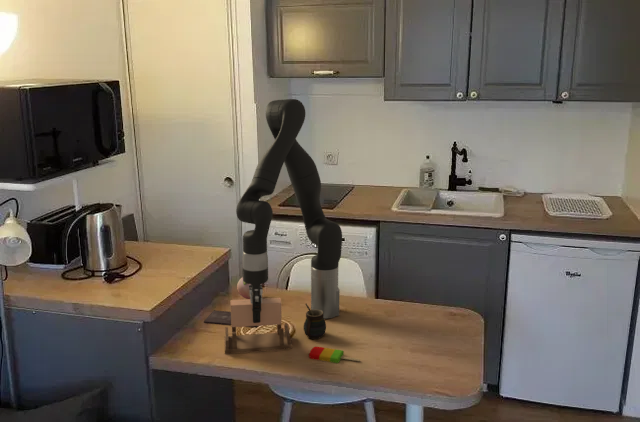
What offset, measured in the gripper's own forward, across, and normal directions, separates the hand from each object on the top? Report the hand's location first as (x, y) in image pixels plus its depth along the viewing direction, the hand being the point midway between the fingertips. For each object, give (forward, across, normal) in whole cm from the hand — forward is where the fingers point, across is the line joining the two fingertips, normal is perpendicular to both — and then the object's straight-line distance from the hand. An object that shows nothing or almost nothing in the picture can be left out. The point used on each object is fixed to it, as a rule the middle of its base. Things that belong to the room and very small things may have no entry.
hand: (256, 318), depth 180 cm
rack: (+8, 0, 0) cm, 8 cm away
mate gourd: (+9, +3, -18) cm, 20 cm away
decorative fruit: (+9, +35, +1) cm, 36 cm away
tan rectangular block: (+1, 0, 0) cm, 1 cm away
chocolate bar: (+9, +19, +6) cm, 22 cm away
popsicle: (+9, -12, -22) cm, 27 cm away
